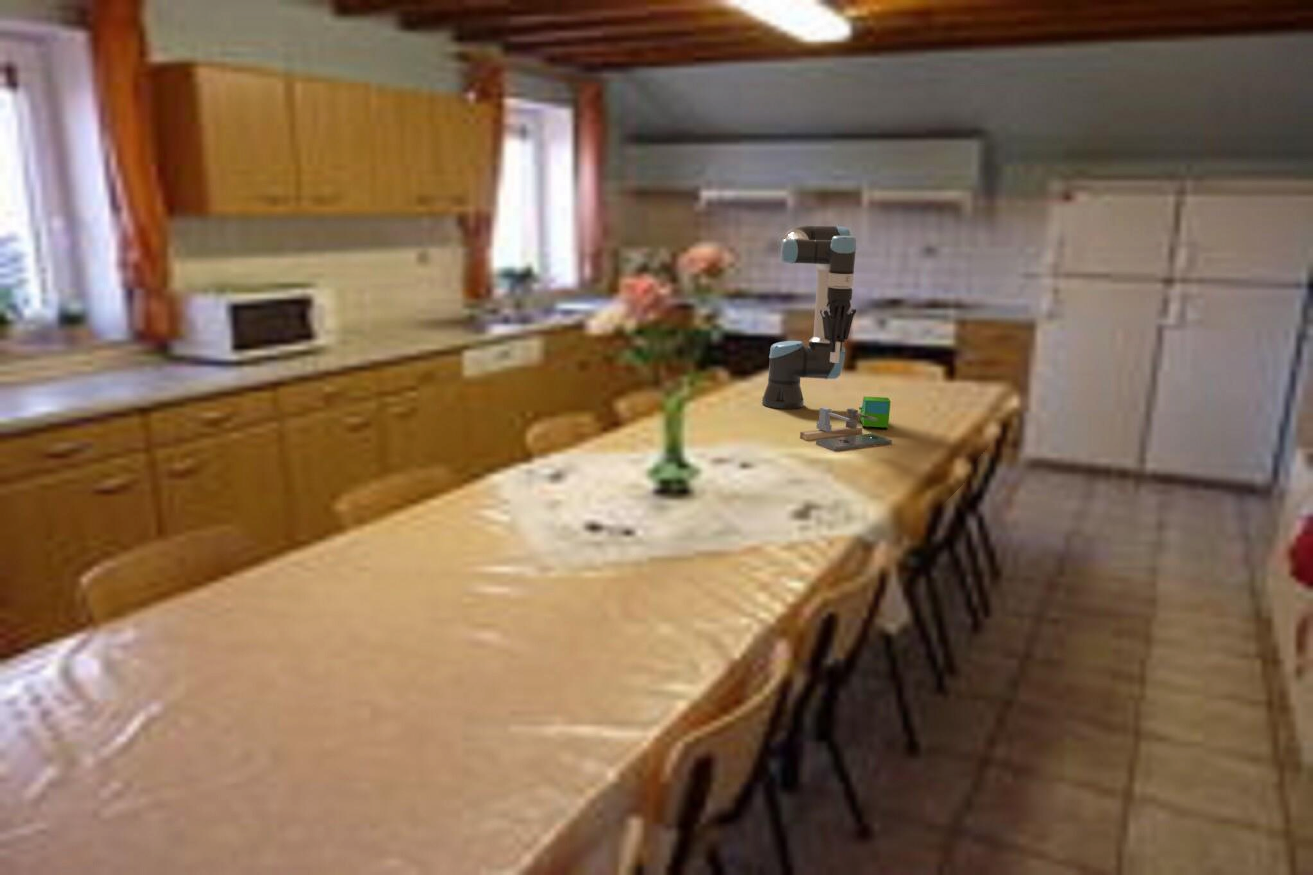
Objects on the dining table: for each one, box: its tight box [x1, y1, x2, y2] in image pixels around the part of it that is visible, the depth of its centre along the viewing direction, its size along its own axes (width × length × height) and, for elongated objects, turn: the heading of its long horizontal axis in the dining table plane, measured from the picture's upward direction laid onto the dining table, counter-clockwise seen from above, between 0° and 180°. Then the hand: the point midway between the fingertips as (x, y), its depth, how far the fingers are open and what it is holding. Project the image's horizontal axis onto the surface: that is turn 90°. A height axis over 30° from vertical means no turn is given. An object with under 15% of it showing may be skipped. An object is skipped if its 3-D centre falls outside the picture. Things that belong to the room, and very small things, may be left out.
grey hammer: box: [816, 406, 850, 432], centre depth 297 cm, size 14×2×7 cm, turn 29°
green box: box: [858, 396, 891, 430], centre depth 319 cm, size 10×13×10 cm
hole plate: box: [815, 432, 893, 452], centre depth 295 cm, size 9×23×1 cm, turn 119°
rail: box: [799, 407, 878, 441], centre depth 299 cm, size 13×23×8 cm, turn 119°
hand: (834, 362), depth 298 cm, fingers closed
